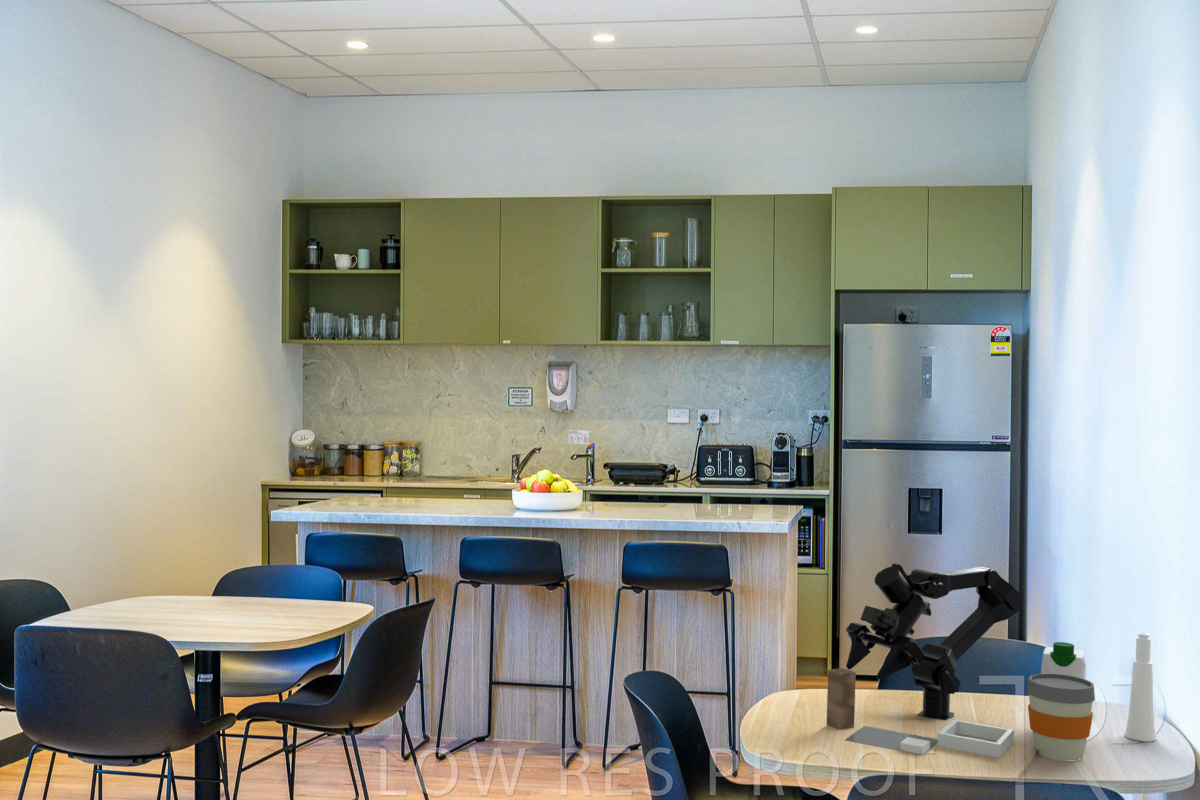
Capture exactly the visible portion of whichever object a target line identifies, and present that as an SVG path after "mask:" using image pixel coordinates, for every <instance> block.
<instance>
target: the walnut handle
mask: <svg viewBox="0 0 1200 800" xmlns="http://www.w3.org/2000/svg"><path fill="white" fill-rule="evenodd" d="M856 676H857V675H856V672H855V671H853V670H851V669H850V670H849V669H848V668H847V669H846V668H844V667H842V668H841V667H840V668H832V669H828V670H827V693H826V694H827V698H826V702H827V703H826V726H829V727H831V728H834V729H836V730H839V731H841V730H846V729H847V730H848V729H853V728H855V712H856V711H855V709H856V708H855V707H856V681H857V680H856Z"/></svg>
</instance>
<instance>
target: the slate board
mask: <svg viewBox="0 0 1200 800" xmlns="http://www.w3.org/2000/svg"><path fill="white" fill-rule="evenodd" d="M907 737H910V738H915V739H921V740H926V741H930V749H929V750H928V751H927V752H926V753H925V754H923V755H922V754H917V753H912V752H906V751H901V750H900V743H901V742H902V741H903V740H904V739H906V738H907ZM844 741H845V742H846V741H847V742H851V743H852V742H853V743H857V744H862V745H868V746H873V747H877V748H878V747H879V748H882V749H888V750H892V751H893V750H894V751H899V752H902V753H908V754H910V753H911V754H914V755H920V756H925V755H927V753H929V752H930V751H931V750H932V749H933V748H934V747H936V745H937V744H938V738H934V737H927V736H922V735H917V734H911V733H906V732H901V731H897V730H896V731H895V730H890V729H885V728H879V727H874V726H868V725H863V726H862V727H860V728H859V729H858V730H856V731H855V732H854V733H852V734H851V735H849V736H847V738H846V739H844Z"/></svg>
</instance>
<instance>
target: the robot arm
mask: <svg viewBox="0 0 1200 800" xmlns="http://www.w3.org/2000/svg"><path fill="white" fill-rule="evenodd" d="M874 584H875V585H876V587H877V588H878V589H879V591H881V593H882V595H883V596H884V598H885V599H886V600H887V601H888V602H889V603H890V604H894V605H893V606H892V607H891V608H888V607H886V608H884V609H880V608H876V607H873V606H869V605H865V606H864V608H863V611H862V613H861V616H860V621H862V622H866V623H868V624H870V628H871V629H872V631H874V633H872V631H871V630H870V629H869V628H868V626H867V624H866V625H865V624H862V623H858V622H850V623H849V625H848V626H847V627H846V629H845V631H846V633H847V634H848V635H847V636H848V637H849V638H850V640H851V641H850V642H851V645H850V650H849V655H848V658H847V661H846V666H845V667H846V668H847V670H850V671H851V670H852V669H853V668H854V667H856V666H857V665H858V664H859V663H860V662H861V661H862V660H863V659H864V658H866V657H867V656H868V655H870V653H871V649H873V648H874V647H875V645H878V646H880V647H881V646H882V647H885V648H888V649H889V655H888V656H887V657H886V659H885V661H884V663H882V665H881V667H880V669H879V670H878V671H877V675H876V679H877V680H879V681H881V680H882V679H885V678H887V677H889V676H891V675H892V674H895V673H897V672H898V671H901V670H903V669H906V668H908V667H910V669H911V673H912V677H913V680H914V684H915V686H919V687H922V688H923V689H922V692H923V693H922V710H921V711H920V712H918V713H917V716H919V717H923V718H930V719H936V720H941V721H948V720H949V719H952V718H953V717H954V716H955V712H951V711H950V705H951V695H954V694H955V693H958V692H959V690H960V688H961V683H962V682H961V681H960V680H959V678H958V677H957V676H956V675H955V673H956V671H957V670H956V668H957V663H958V662H957V661H959V659H961V658H962V657H963V656H964V655H965V654H966V652H968V651H969V650H970V649H971V647H973V646H974V645H975V644H976V643H977V642H978V641H979V640H980V639H981V638H982V636H984V635H985V634H986V633H987V632H988V631H989V630H990V628H992V627H993V626H994V625H995V624H997V623H999V622H1003V621H1006V620H1007V621H1008V620H1009V619H1011V618H1013V616H1015V615H1017V614H1018V613H1019V612H1020V610H1021V609H1022V605H1023V599H1022V597H1021V594H1020V592H1019V591H1018V590H1017V589H1016V588H1015V587H1014V586H1013V585H1012V584H1010V582H1008V581H1007V580H1005V579H1004V578H1003V577H1001V576H1000V574H999V573H998V572H997V570H995V569H994V568H990V567H983V566H976V567H973V568H963V569H954V570H947V571H935V570H928V569H922V568H915V569H913V570H912V571H911V573H909V574H907V572H905V571H904V567H903V565H901V564H899V563H898V564H897V563H892V565H890V566H888V567H885V568H883V569H882V570H881V571H879V572H877V573H876V575H875V578H874ZM971 588H975V591H976V594H977V595H978V596H979V597H978V599H977V600H978V602H977V608H976V609H975V610H974V611H973V612H972V613H971V614H970V615H969V616H968V617H967V618H965V619H964V620H963V621H962V622H961V624H959V625H958V626H957V627H956V628H955V629H954V630H953V632H951V633H950V634H949V635H948V636H947V637H946V638H945V639H944V640H943V641H942V642H941V643H940V644H939V645H935V644H932V643H925V644H923V646H922V647H921V646H920V645H919V644H918V643H917V641H916V640H915V638H912V637H910V636H908V635H911V636H912V635H914V633H915V630H914V626H915V624H916V623H917V622H918V620H919V619H920V618H921V617H922V615H924V616H929V617H931V616H932V610H931V604H930V602H926V601H925V599H924V598H928V599H932V600H937V599H941V598H944V597H946V596H947V595H948V594H949V593H950V592H952V591H958V590H965V589H971ZM922 597H923V598H922Z"/></svg>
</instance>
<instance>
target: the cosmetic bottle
mask: <svg viewBox="0 0 1200 800" xmlns="http://www.w3.org/2000/svg"><path fill="white" fill-rule="evenodd" d="M1135 641H1136V642H1135V643H1136V644H1135V659H1134V660H1133V661H1132V674H1131V684H1130V695H1129V696H1130V697H1129V708H1128V715H1127V721H1126V722H1127V723H1126V727H1125V731H1124V736H1125V737H1126V738H1128V739H1130V740H1134V741H1137V742H1138V741H1139V742H1148V743H1149V742H1150V743H1151V742H1155V741H1156V740H1157V735H1156V729H1155V728H1156V727H1155V716H1154V715H1155V714H1154V686H1153V685H1154V679H1153V676H1154V675H1153V673H1154V671H1153V662H1152V661H1151V648H1152V647H1151V646H1152V645H1151V644H1152V643H1151V642H1152V641H1151V638H1150V634H1149V633H1147V632H1137V637H1136V640H1135Z"/></svg>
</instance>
